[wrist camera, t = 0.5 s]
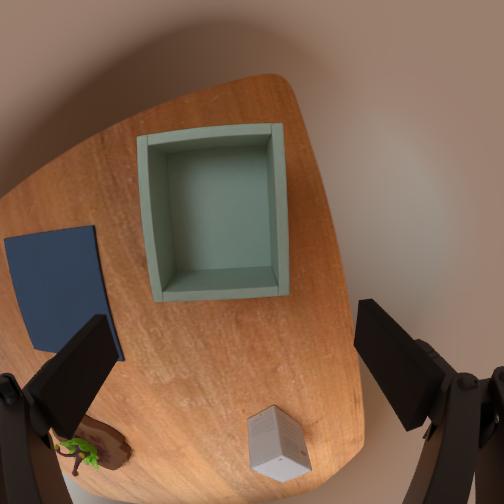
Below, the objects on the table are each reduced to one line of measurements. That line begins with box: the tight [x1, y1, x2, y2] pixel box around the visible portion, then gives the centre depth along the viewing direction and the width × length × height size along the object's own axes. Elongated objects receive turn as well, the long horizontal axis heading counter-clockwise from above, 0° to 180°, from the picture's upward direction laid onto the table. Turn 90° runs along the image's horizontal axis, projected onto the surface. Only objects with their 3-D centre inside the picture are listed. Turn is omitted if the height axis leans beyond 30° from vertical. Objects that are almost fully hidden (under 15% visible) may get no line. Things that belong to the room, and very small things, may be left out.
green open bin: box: [137, 123, 290, 302], centre depth 21 cm, size 12×10×6 cm
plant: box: [51, 415, 130, 476], centre depth 35 cm, size 20×20×11 cm
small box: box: [247, 405, 312, 483], centre depth 34 cm, size 8×6×10 cm
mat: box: [4, 225, 124, 361], centre depth 32 cm, size 20×20×1 cm
